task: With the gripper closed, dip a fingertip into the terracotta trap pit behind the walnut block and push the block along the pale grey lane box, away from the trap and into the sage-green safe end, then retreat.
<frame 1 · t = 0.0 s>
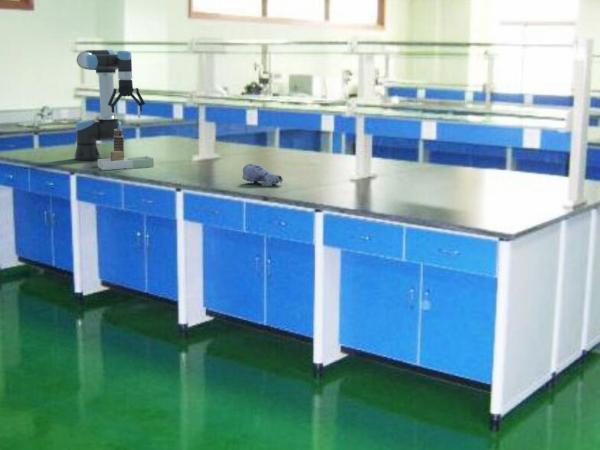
hand: (127, 118, 471), 28 cm above the countertop, tool pointing down, fingers open, 13 cm apart
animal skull: (262, 185, 421), on the countertop
walnut block: (117, 162, 478), point 3 cm above the countertop, touching lane box
lane box: (125, 166, 480), on the countertop
miniature building: (118, 163, 497), on the countertop
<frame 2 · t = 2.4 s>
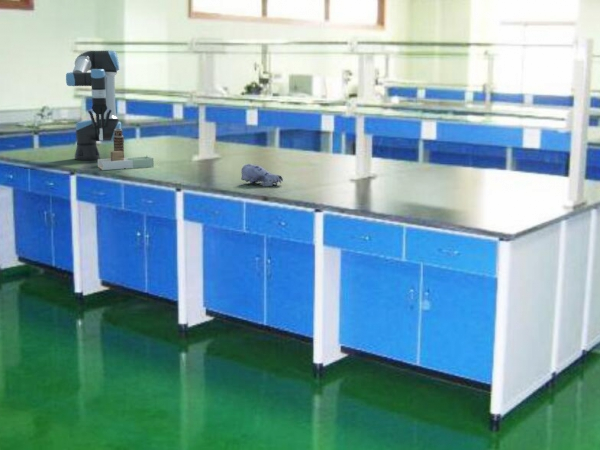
hand: (101, 140, 471), 16 cm above the countertop, tool pointing down, fingers closed
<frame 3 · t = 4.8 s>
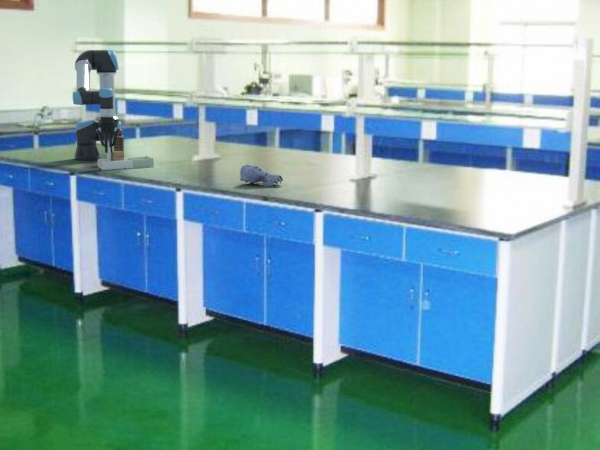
hand: (109, 158, 475), 5 cm above the countertop, tool pointing down, fingers closed
walnut block: (117, 162, 478), point 3 cm above the countertop, touching gripper, lane box
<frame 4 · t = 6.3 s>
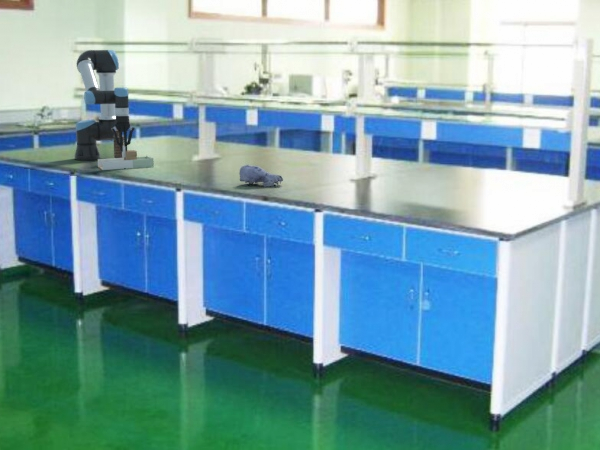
hand: (123, 157, 479), 6 cm above the countertop, tool pointing down, fingers closed
walnut block: (130, 161, 481), point 3 cm above the countertop, touching gripper
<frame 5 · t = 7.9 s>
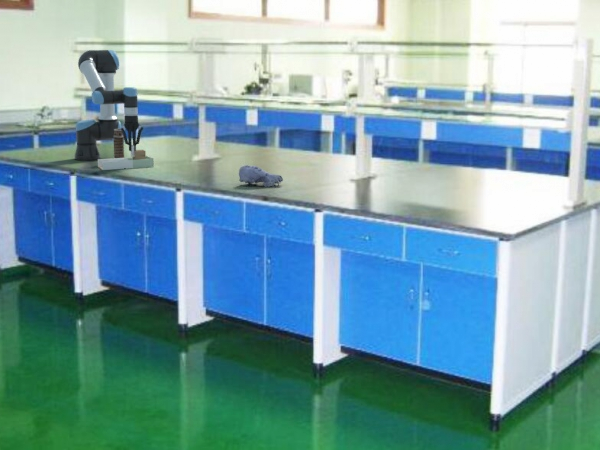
hand: (132, 156, 481), 6 cm above the countertop, tool pointing down, fingers closed
walnut block: (139, 160, 483), point 3 cm above the countertop, touching gripper, lane box
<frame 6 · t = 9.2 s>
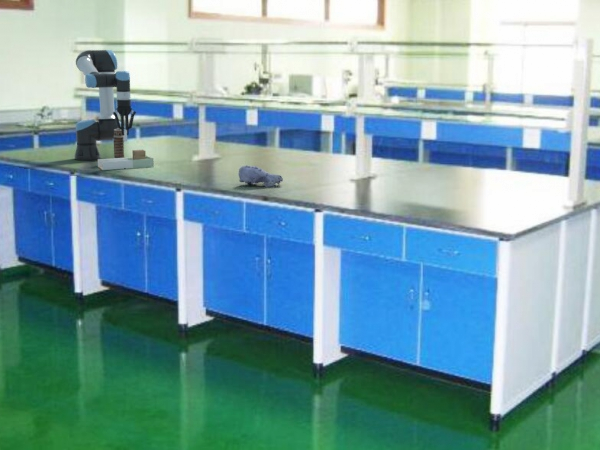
hand: (125, 141, 478), 15 cm above the countertop, tool pointing down, fingers closed
walnut block: (139, 160, 483), point 3 cm above the countertop, touching lane box
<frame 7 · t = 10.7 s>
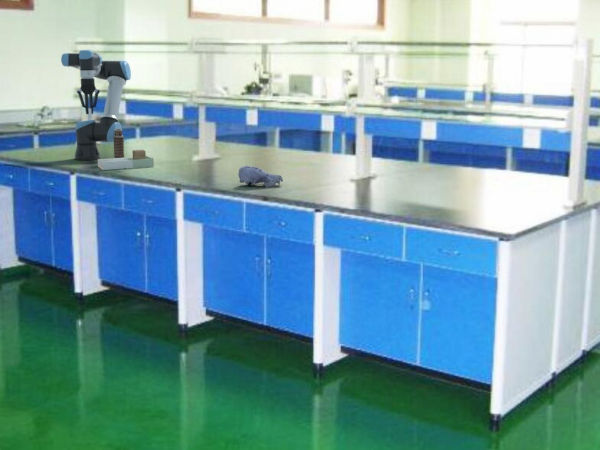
hand: (89, 119, 483), 26 cm above the countertop, tool pointing down, fingers closed
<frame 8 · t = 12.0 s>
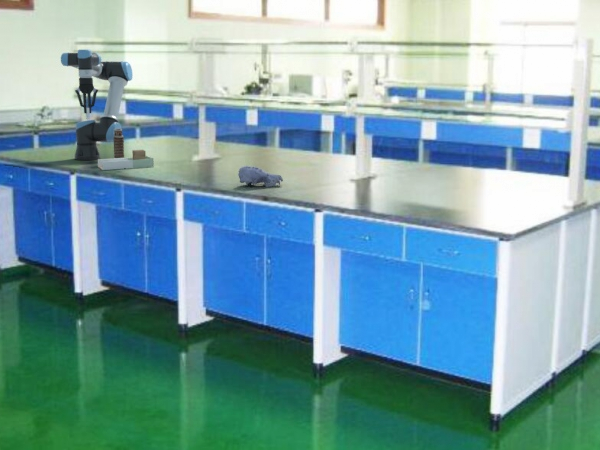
hand: (88, 119, 482), 26 cm above the countertop, tool pointing down, fingers closed
at the end: walnut block inside the target area (1.6 cm from its centre), point 3.0 cm above the countertop; walnut block tilted 0°; the gripper is holding nothing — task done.
